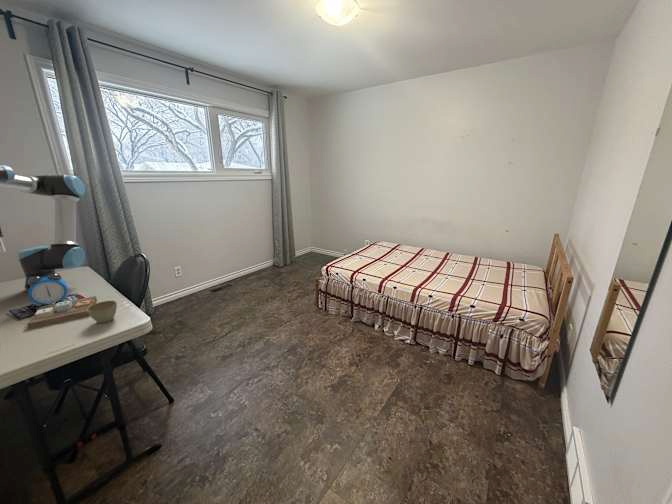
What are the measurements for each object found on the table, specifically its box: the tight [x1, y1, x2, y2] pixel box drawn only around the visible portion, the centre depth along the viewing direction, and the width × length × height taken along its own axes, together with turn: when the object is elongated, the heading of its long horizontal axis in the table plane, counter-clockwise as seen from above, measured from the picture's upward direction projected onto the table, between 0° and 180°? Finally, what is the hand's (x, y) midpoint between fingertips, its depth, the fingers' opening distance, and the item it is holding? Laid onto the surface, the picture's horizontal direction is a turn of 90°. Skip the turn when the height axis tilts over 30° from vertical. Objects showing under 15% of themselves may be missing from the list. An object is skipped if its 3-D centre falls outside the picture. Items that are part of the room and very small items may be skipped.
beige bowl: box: [87, 300, 118, 324], centre depth 117 cm, size 10×10×7 cm
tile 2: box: [76, 300, 91, 308], centre depth 128 cm, size 5×5×3 cm
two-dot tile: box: [55, 299, 73, 312], centre depth 124 cm, size 5×5×3 cm
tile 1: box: [34, 307, 54, 316], centre depth 121 cm, size 5×5×3 cm
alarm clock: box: [27, 272, 69, 306], centre depth 133 cm, size 13×6×15 cm, turn 132°
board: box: [26, 295, 98, 329], centre depth 124 cm, size 18×20×2 cm
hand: (0, 252), depth 118 cm, fingers closed
